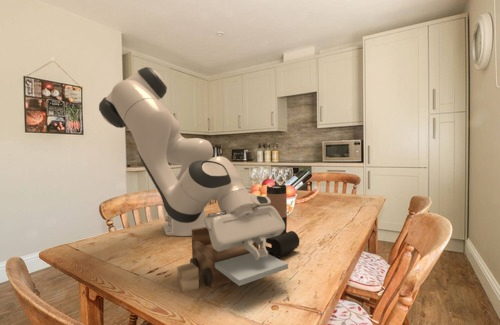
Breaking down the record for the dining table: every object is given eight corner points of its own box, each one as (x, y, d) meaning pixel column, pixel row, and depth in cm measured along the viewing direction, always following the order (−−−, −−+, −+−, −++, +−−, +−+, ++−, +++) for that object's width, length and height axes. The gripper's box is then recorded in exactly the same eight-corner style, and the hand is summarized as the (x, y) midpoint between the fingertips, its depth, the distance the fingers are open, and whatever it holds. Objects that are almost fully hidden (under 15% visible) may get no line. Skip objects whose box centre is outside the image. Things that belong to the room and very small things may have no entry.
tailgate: (214, 262, 66) (239, 280, 57) (260, 250, 74) (288, 263, 65) (214, 270, 66) (239, 288, 57) (260, 256, 74) (288, 271, 65)
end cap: (281, 261, 82) (281, 239, 82) (263, 255, 87) (263, 235, 87) (299, 252, 89) (299, 232, 89) (282, 247, 94) (282, 228, 94)
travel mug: (286, 241, 99) (285, 187, 98) (265, 240, 101) (265, 187, 100) (287, 235, 107) (287, 185, 106) (268, 234, 108) (267, 184, 107)
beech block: (177, 286, 68) (176, 266, 68) (192, 281, 70) (191, 262, 70) (183, 292, 65) (182, 272, 64) (198, 287, 67) (198, 268, 67)
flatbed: (189, 269, 77) (188, 229, 77) (236, 256, 86) (236, 220, 86) (210, 288, 66) (209, 242, 66) (261, 271, 75) (261, 230, 75)
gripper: (205, 207, 62) (228, 263, 55) (273, 196, 74) (299, 241, 67) (198, 222, 66) (218, 276, 59) (263, 209, 78) (287, 253, 71)
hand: (262, 257), depth 63 cm, fingers closed
